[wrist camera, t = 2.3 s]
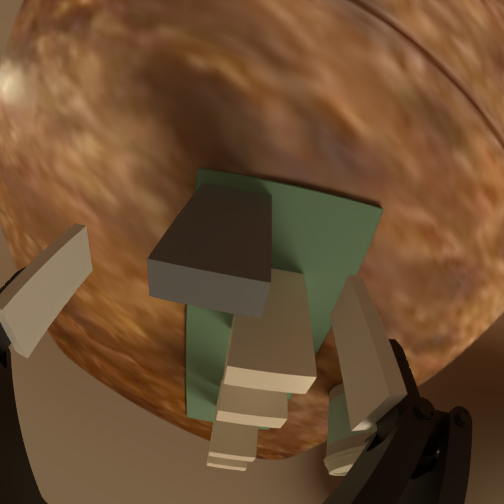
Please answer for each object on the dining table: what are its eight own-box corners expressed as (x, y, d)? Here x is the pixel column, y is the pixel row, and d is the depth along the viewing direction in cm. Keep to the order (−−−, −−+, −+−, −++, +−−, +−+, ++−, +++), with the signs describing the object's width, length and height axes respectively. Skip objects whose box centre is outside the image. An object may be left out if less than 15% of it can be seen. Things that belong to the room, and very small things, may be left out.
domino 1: (244, 262, 22) (227, 365, 14) (303, 274, 22) (316, 377, 14) (240, 282, 23) (223, 383, 15) (297, 292, 24) (305, 393, 15)
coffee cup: (310, 403, 35) (313, 478, 24) (333, 372, 30) (343, 461, 20) (361, 404, 35) (371, 472, 25) (390, 373, 31) (409, 452, 20)
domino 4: (217, 400, 35) (207, 462, 26) (252, 405, 35) (246, 468, 26) (216, 405, 36) (206, 465, 27) (249, 411, 36) (244, 470, 27)
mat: (198, 167, 19) (197, 168, 19) (381, 207, 19) (383, 209, 19) (187, 414, 40) (187, 416, 39) (268, 427, 40) (268, 429, 40)
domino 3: (221, 380, 32) (209, 451, 23) (260, 386, 32) (255, 457, 23) (219, 387, 33) (208, 455, 24) (257, 393, 33) (252, 461, 24)
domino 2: (233, 315, 25) (218, 410, 17) (285, 323, 26) (287, 418, 17) (231, 329, 26) (216, 420, 18) (280, 337, 27) (280, 428, 18)
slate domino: (202, 183, 19) (147, 258, 11) (271, 195, 19) (271, 283, 11) (199, 208, 20) (149, 295, 12) (266, 220, 20) (260, 318, 12)
